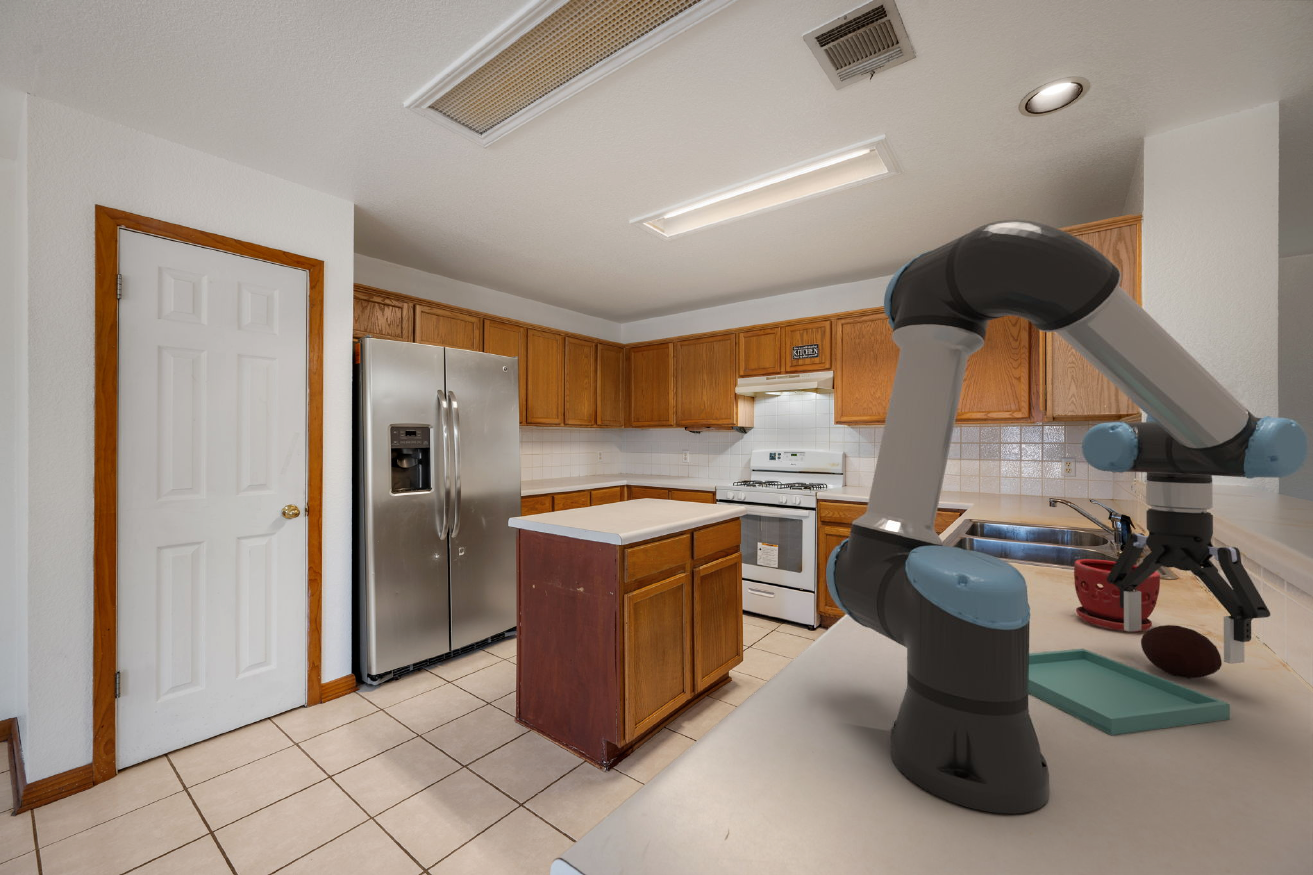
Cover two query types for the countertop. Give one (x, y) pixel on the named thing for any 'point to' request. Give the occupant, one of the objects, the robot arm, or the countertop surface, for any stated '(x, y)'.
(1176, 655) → the dark brown oval
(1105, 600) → the plant pot
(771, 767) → the countertop surface
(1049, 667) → the teal tray
